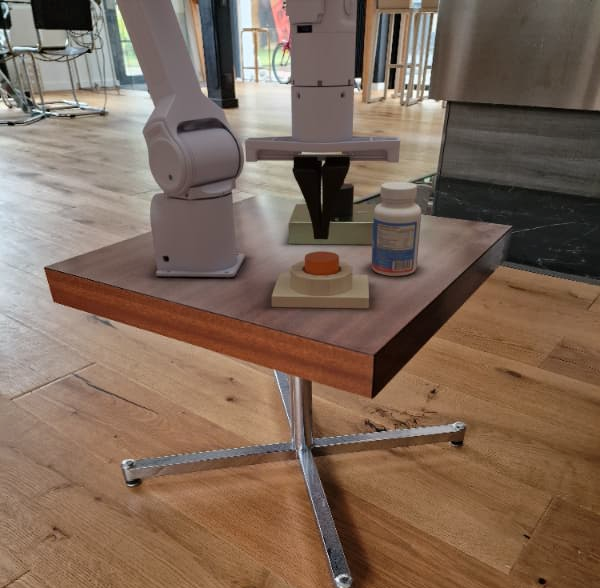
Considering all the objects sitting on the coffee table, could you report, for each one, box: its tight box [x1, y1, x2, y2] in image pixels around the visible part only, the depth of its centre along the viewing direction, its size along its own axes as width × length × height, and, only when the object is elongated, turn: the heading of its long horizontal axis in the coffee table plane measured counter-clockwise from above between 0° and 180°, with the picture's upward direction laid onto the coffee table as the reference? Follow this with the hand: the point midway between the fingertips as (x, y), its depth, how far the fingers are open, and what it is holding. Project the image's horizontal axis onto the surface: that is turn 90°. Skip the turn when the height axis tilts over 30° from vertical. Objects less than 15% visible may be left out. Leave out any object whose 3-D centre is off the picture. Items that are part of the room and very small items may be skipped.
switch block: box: [271, 260, 370, 309], centre depth 61 cm, size 10×7×3 cm
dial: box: [332, 181, 355, 216], centre depth 80 cm, size 4×4×4 cm
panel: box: [288, 203, 379, 246], centre depth 82 cm, size 13×11×3 cm
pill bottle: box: [371, 181, 422, 277], centre depth 66 cm, size 6×5×10 cm
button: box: [304, 250, 340, 275], centre depth 60 cm, size 4×4×2 cm
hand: (321, 236), depth 58 cm, fingers closed
